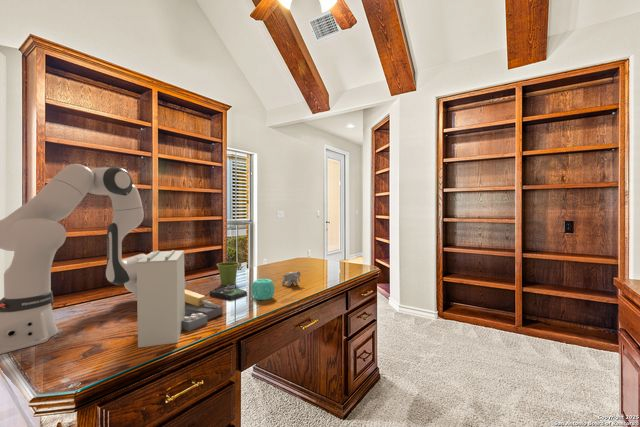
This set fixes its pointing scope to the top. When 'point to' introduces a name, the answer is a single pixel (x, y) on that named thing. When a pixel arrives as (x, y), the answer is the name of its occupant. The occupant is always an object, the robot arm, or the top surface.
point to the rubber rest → (202, 310)
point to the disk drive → (228, 293)
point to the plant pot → (228, 272)
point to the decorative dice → (263, 289)
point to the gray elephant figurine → (291, 278)
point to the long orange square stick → (197, 299)
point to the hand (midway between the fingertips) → (174, 290)
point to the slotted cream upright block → (160, 297)
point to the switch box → (194, 321)
